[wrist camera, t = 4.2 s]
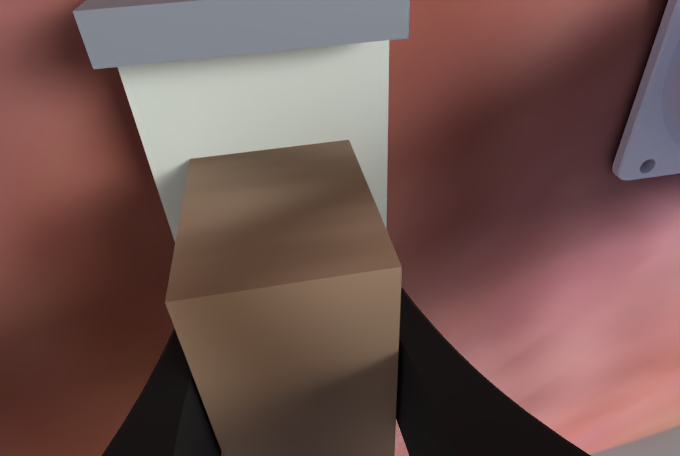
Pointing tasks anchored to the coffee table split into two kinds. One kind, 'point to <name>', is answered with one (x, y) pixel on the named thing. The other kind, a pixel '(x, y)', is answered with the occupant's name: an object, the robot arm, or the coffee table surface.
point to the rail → (249, 78)
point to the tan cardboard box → (288, 302)
